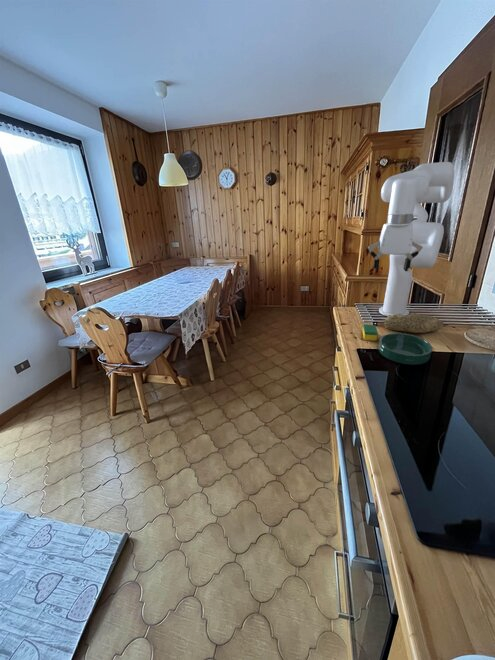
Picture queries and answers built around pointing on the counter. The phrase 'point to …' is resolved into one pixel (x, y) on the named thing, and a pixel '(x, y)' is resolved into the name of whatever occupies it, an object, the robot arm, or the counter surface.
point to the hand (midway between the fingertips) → (390, 270)
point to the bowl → (405, 348)
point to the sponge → (413, 323)
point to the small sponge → (370, 332)
